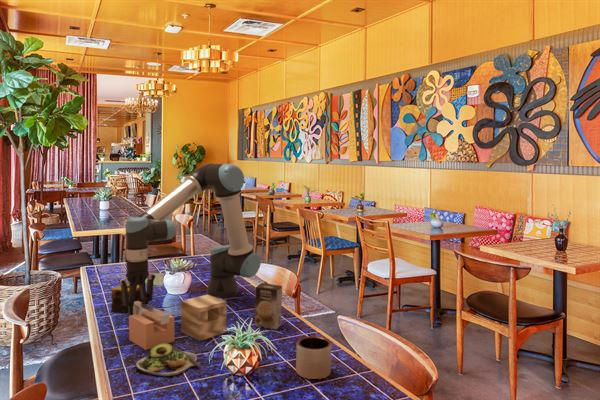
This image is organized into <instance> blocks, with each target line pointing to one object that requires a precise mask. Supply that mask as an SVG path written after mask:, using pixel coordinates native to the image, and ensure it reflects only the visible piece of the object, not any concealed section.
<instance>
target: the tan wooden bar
mask: <svg viewBox="0 0 600 400" xmlns="http://www.w3.org/2000/svg"><path fill="white" fill-rule="evenodd" d="M134 306H136V314H138V315H141V316H143V317H145V318H146V319H148V320H152V321H154V322H156V323H158V324H160V325H163V324H167V323H169V314H170V313H167V312H165V311H163V310H161V309H159V308H155V307H154V306H151V305H148V304H147V305H146V304H144V303H142V302H139V301H135V302H134ZM158 309H159V310H158ZM160 310H161V311H160ZM162 311H163V312H162Z"/></svg>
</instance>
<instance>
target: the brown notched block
mask: <svg viewBox="0 0 600 400" xmlns="http://www.w3.org/2000/svg"><path fill="white" fill-rule="evenodd" d="M180 329H181V330H180V332H181V333H182V334H184V335H187V336H189V337H191V338H192V339H195V340H196V341H199V342H201V341H204V340H207V339H210V338H214V337H216V336H220V335H222V334H225V333H227V300H224V299H221V298H220V297H213V296H211V295H208V294H207V293H206V294H204V295H200V296H195V297H191V298H187V299H183V300H180ZM222 329H226V331H223V330H222Z"/></svg>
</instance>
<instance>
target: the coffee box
mask: <svg viewBox="0 0 600 400" xmlns="http://www.w3.org/2000/svg"><path fill="white" fill-rule="evenodd" d="M282 299H283V285H280V284H279V285H278V284H271V283H266V282H264V283H263V282H261V283H260V284H258V285H257V286H256V287H255V311H254V312H255V317H254V320H255V321H254V327H255V326H256V328H261V327H264V328H263V329H267V328H270V329H269V330H273V329H276V330H277V329H279V327H280V326H282V305H283V302H282V301H283V300H282Z"/></svg>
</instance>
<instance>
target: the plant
mask: <svg viewBox="0 0 600 400" xmlns="http://www.w3.org/2000/svg"><path fill="white" fill-rule="evenodd" d="M149 263H150V264H149V265H148V272H149V274H153V275H155V279H154V281H153V286H164V285H163V277H164V274H165V272H162V273H160V272H157V271H156V269H155V267H153V266H154V265H153V264H152V262H149ZM147 280H148V279H146V280H145V283H146V285H147Z"/></svg>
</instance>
